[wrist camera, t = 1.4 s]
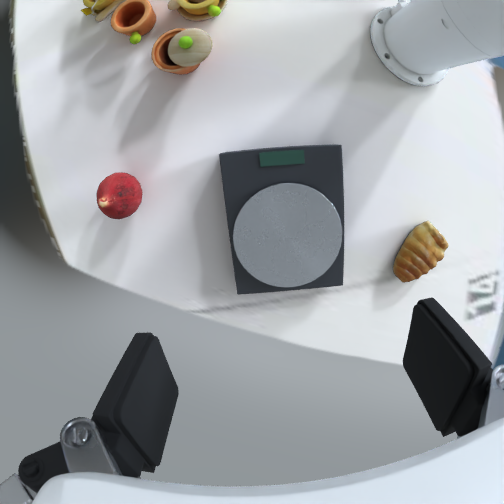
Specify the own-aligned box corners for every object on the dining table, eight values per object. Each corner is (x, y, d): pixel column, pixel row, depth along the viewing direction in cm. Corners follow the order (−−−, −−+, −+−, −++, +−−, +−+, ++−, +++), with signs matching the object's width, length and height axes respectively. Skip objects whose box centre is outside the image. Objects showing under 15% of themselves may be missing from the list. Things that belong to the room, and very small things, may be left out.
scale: (222, 152, 34) (218, 153, 31) (335, 144, 33) (341, 144, 30) (239, 283, 40) (237, 295, 37) (337, 275, 40) (343, 286, 37)
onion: (143, 163, 34) (115, 170, 27) (156, 204, 36) (131, 220, 29) (108, 177, 35) (76, 187, 28) (120, 215, 37) (92, 233, 30)
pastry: (407, 285, 40) (417, 297, 36) (381, 262, 39) (391, 273, 35) (444, 240, 37) (457, 249, 33) (421, 213, 36) (434, 220, 32)
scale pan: (227, 187, 32) (226, 188, 32) (340, 179, 31) (341, 179, 31) (240, 289, 37) (239, 291, 36) (340, 280, 36) (341, 282, 36)
